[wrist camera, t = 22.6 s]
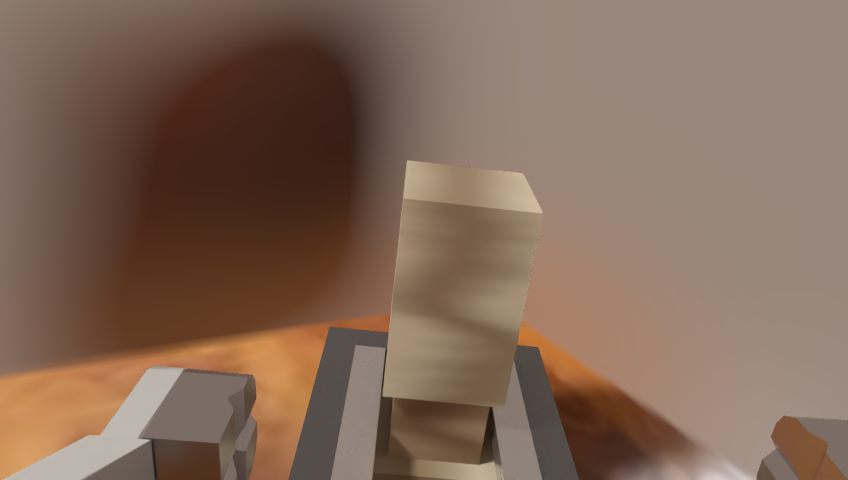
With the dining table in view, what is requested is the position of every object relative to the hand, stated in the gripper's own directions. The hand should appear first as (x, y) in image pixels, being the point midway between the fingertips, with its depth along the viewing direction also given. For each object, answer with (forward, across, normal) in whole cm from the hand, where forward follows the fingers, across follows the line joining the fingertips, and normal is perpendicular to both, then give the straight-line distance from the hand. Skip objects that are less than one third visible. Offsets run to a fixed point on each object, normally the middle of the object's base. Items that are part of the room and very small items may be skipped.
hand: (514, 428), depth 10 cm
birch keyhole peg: (+15, 0, +15) cm, 22 cm away
